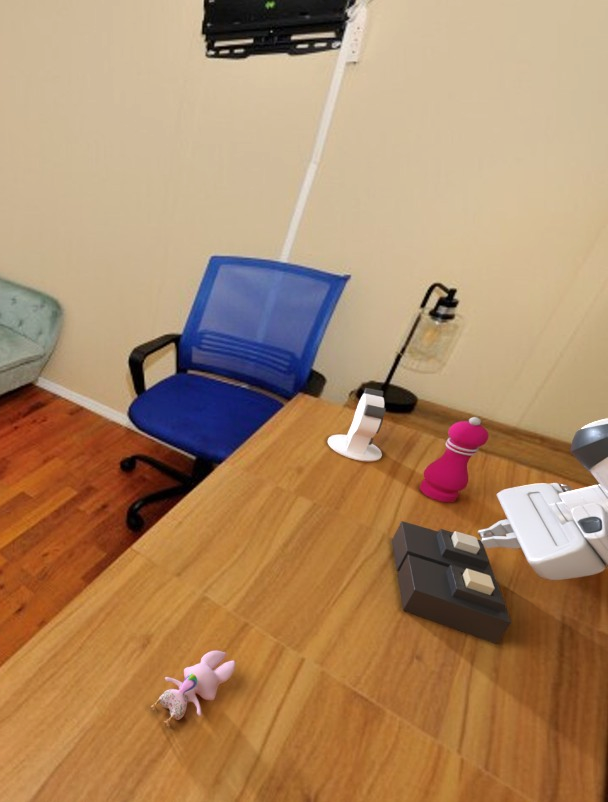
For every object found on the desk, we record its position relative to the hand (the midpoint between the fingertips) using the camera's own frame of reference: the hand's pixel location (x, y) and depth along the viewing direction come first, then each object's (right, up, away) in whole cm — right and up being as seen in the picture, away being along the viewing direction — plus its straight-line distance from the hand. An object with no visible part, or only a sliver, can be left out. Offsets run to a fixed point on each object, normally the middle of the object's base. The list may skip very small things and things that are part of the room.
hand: (481, 539), depth 88 cm
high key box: (-8, -11, -1) cm, 14 cm away
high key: (-6, -6, -5) cm, 10 cm away
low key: (-1, -2, +2) cm, 3 cm away
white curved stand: (+8, +10, +40) cm, 42 cm away
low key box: (-2, -7, +6) cm, 10 cm away
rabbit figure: (-57, -19, -13) cm, 61 cm away
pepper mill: (+15, +2, +25) cm, 29 cm away
